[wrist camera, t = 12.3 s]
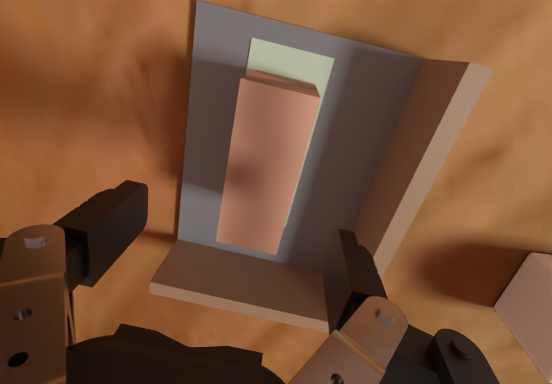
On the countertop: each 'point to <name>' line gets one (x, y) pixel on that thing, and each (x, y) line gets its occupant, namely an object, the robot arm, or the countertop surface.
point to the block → (265, 158)
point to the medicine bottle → (531, 310)
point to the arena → (310, 159)
